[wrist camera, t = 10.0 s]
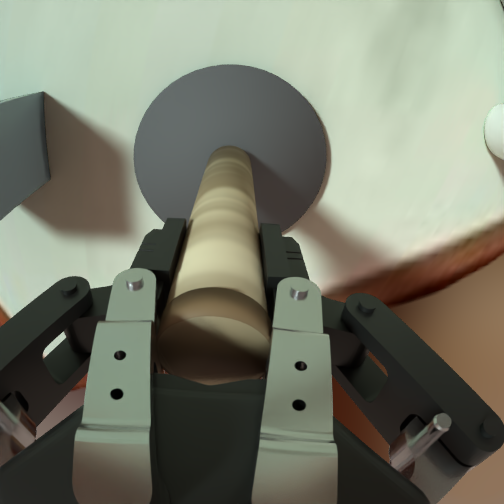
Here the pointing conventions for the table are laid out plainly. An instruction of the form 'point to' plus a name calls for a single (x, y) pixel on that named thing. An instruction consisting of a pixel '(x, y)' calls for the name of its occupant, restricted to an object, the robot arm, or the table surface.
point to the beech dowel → (218, 282)
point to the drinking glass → (495, 130)
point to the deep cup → (22, 149)
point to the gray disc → (231, 141)
